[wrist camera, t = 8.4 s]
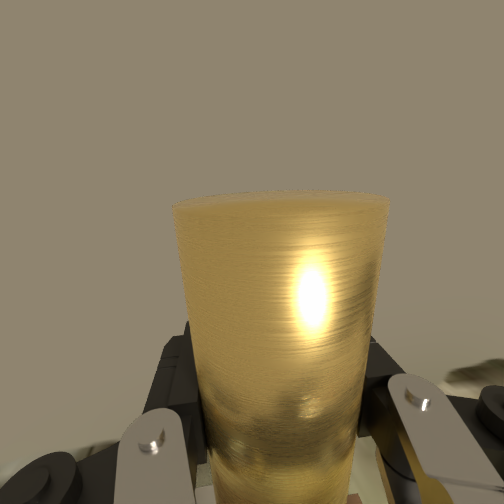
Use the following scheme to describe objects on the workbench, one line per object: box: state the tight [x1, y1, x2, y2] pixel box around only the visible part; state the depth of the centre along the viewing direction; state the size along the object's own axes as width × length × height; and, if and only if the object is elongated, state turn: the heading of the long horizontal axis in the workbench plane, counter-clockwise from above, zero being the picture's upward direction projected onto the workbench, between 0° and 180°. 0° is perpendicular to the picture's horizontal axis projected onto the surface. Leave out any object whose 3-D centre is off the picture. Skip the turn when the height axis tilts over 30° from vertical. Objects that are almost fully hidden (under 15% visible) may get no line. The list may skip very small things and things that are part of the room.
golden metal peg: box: [172, 190, 390, 504], centre depth 7 cm, size 4×4×14 cm
